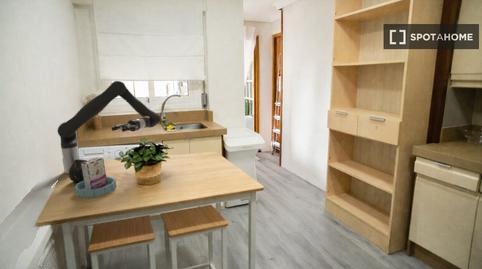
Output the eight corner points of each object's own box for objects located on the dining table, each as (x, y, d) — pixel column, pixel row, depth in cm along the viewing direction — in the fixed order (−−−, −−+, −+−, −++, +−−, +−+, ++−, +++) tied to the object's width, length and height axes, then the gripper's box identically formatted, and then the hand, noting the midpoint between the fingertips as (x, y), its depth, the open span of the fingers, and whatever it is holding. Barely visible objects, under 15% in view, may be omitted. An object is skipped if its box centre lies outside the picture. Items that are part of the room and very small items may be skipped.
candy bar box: (101, 183, 171) (97, 156, 167) (107, 184, 169) (103, 157, 165) (85, 191, 160) (80, 162, 157) (92, 192, 159) (87, 163, 155)
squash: (104, 167, 185) (85, 151, 182) (94, 177, 171) (73, 159, 167) (90, 182, 187) (71, 166, 184) (78, 192, 173) (57, 175, 170)
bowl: (68, 194, 160) (66, 187, 159) (98, 181, 178) (98, 174, 177) (93, 200, 152) (92, 192, 151) (123, 185, 169) (122, 179, 169)
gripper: (127, 118, 195) (107, 122, 181) (144, 119, 189) (125, 124, 175) (129, 129, 197) (109, 134, 182) (145, 130, 191) (126, 136, 177)
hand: (117, 129), depth 179 cm, fingers open, 8 cm apart
